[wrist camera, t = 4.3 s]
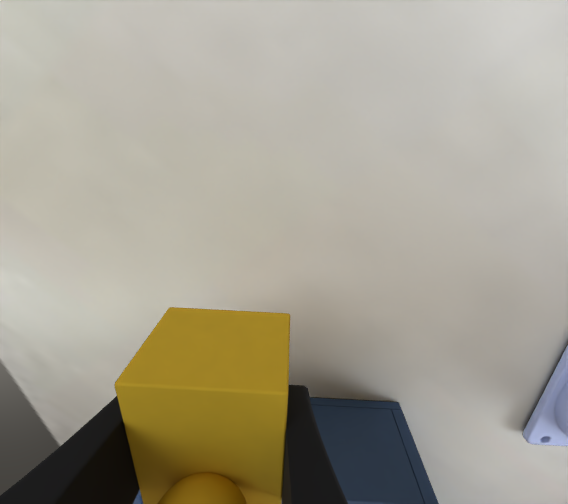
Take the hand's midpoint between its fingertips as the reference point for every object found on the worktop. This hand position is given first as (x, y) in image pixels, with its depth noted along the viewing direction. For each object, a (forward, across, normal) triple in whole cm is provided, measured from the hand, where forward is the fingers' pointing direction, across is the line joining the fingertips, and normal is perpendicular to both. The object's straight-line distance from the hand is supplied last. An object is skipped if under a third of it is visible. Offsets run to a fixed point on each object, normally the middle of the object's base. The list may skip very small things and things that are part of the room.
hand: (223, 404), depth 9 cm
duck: (+1, 0, 0) cm, 1 cm away
